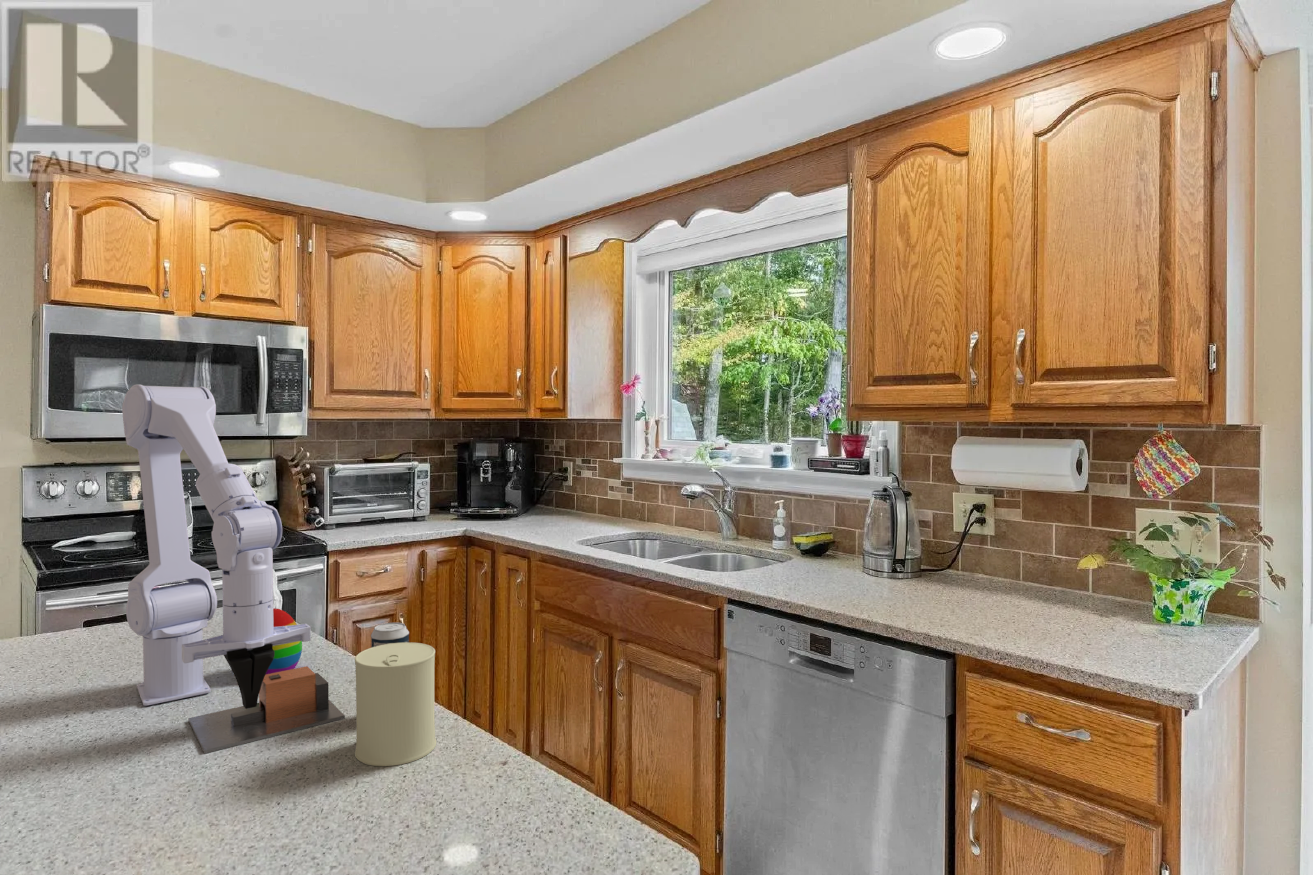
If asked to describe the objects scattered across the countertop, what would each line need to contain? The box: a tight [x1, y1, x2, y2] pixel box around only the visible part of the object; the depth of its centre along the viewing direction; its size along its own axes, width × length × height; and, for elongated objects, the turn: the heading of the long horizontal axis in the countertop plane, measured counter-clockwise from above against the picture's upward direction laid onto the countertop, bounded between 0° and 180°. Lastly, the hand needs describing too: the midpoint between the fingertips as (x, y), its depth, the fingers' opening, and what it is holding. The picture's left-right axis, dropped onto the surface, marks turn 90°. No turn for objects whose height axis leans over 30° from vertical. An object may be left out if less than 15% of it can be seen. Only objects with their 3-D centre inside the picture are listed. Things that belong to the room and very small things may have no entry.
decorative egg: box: [266, 607, 303, 674], centre depth 115 cm, size 8×8×10 cm
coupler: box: [187, 672, 346, 754], centre depth 97 cm, size 12×16×4 cm
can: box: [354, 641, 437, 767], centre depth 89 cm, size 9×9×12 cm
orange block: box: [258, 665, 316, 723], centre depth 99 cm, size 4×6×5 cm, turn 130°
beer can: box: [370, 622, 410, 648], centre depth 99 cm, size 5×5×12 cm
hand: (249, 705), depth 96 cm, fingers closed
